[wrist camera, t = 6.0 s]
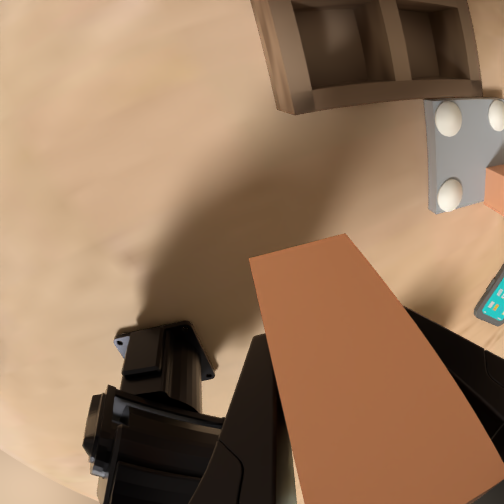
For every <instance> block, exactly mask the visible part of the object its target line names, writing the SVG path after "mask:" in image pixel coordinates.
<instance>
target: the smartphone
mask: <svg viewBox="0 0 504 504" xmlns="http://www.w3.org/2000/svg"><path fill="white" fill-rule="evenodd" d="M474 315H475V316H476V317H477V318H479V319H481V320H483V321H486V322H488V323H491V324H493V325H495V326H500V325H502V324H503V323H504V264H503V265H502V267H501V269H500V270H499V272H498V273H497V275H496V277H495V278H493V280H492V281H491V283H490V284H489V286H488V287H487V290H486V292H485V293H484V295H483V296H482V298H481V299H480V301H479V302H478V304H477V305H476V307H475V309H474Z"/></svg>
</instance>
